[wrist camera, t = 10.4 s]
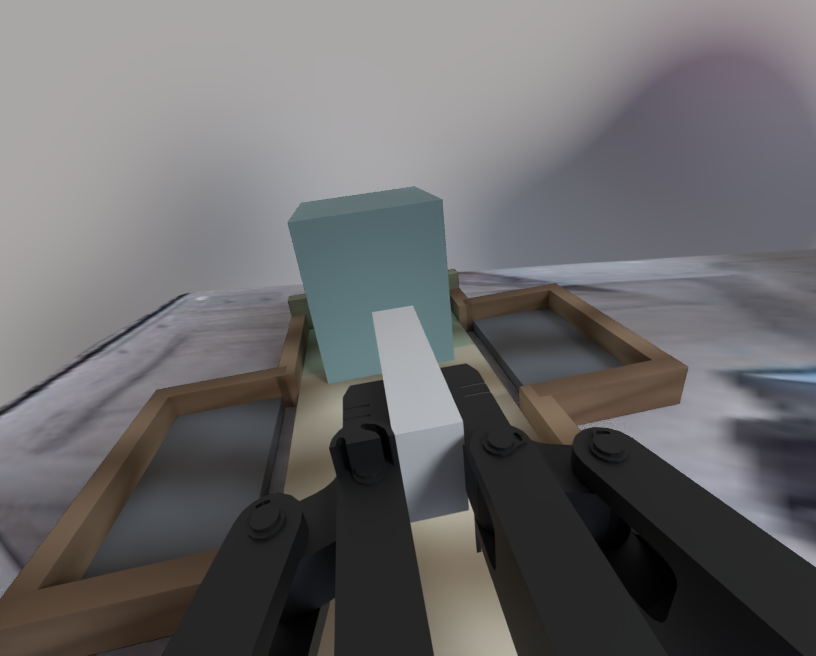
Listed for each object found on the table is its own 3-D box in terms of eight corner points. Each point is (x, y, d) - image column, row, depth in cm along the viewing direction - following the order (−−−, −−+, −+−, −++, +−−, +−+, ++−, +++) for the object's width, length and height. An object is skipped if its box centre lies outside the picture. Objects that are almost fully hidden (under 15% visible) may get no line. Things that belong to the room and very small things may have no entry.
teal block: (454, 359, 27) (442, 199, 22) (328, 384, 26) (287, 222, 22) (427, 312, 35) (414, 186, 31) (330, 329, 34) (301, 202, 30)
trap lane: (942, 601, 12) (1013, 519, 11) (-131, 910, 10) (-276, 867, 8) (534, 294, 39) (535, 255, 37) (213, 350, 36) (197, 311, 34)
